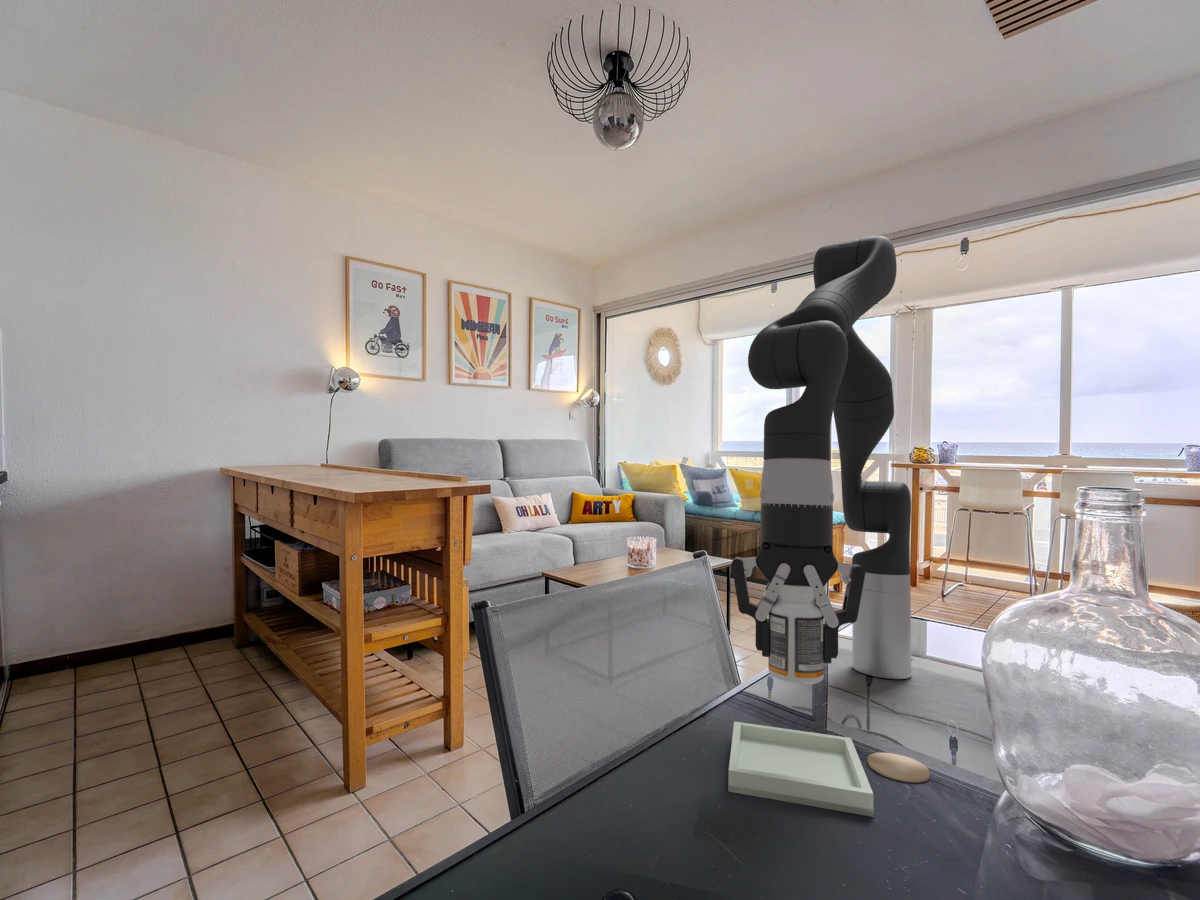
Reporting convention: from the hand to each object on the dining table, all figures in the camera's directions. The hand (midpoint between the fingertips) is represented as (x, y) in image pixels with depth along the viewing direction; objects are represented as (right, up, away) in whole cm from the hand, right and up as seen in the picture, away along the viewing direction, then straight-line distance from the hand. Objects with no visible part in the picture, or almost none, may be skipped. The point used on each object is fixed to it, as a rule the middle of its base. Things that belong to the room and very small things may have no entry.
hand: (795, 657), depth 60 cm
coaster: (+11, -12, +1) cm, 17 cm away
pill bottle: (0, -2, 0) cm, 2 cm away
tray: (-1, -12, -1) cm, 12 cm away
